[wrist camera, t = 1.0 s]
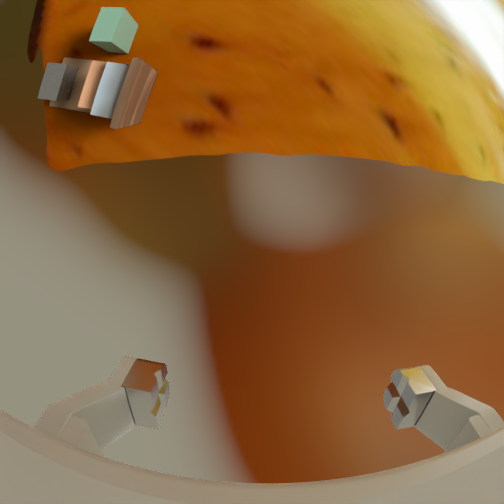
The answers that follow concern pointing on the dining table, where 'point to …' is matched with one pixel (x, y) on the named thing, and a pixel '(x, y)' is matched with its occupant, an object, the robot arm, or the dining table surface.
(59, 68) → the bookend
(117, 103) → the shelf
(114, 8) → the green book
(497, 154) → the dining table surface
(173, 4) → the dining table surface
